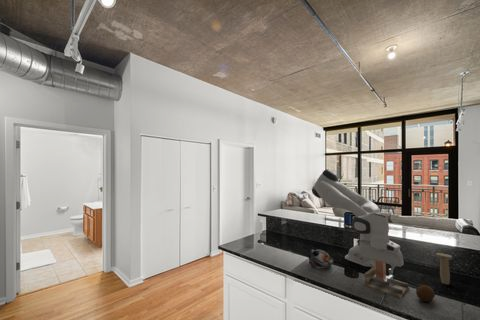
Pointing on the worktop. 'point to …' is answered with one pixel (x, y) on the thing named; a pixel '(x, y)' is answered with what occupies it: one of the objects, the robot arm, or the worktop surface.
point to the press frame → (395, 289)
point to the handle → (444, 267)
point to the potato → (425, 293)
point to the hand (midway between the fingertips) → (380, 269)
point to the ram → (382, 274)
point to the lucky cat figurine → (320, 259)
